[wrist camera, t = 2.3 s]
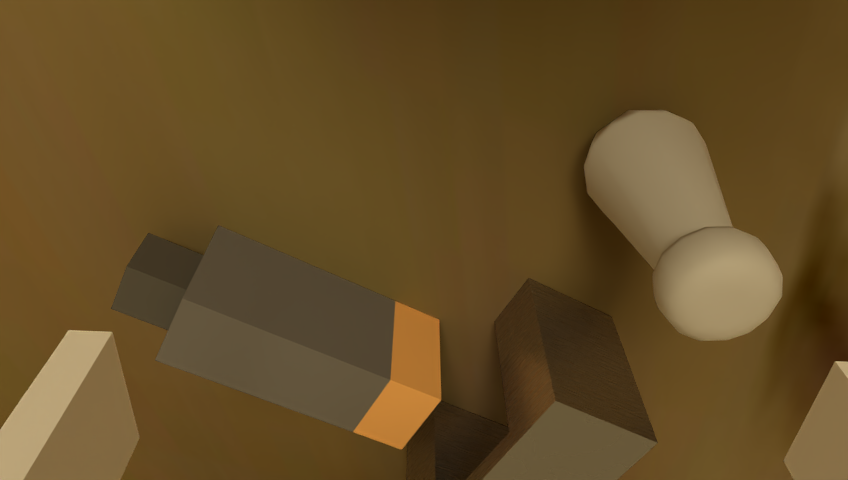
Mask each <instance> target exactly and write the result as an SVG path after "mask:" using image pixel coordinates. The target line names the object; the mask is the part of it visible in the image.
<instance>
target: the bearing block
mask: <svg viewBox="0 0 848 480" xmlns="http://www.w3.org/2000/svg"><path fill="white" fill-rule="evenodd" d="M495 330H496V337H497V345H498V352H499V360H500V367H501V375H502V382H503V390H504V397H505V405H506V412H507V420H508V427H506V426H504V425H501V424H499V423H496V422H494V421H491V420H488V419H486V418H483V417H481V416H478V415H476V414H473V413H471V412H468V411H465V410H463V409H460V408H458V407H455V406H453V405H450V404H448V403H445V402H442V401H440V402H439V403H438V405H437V406H436V407H435V408H434V410H433V411H432V412H431V413H430V415H429V416H428V417H427V418H426V420H425V421H424V422H423V423H422V425H421V426H420V427H419V428H418V430H417V431H416V432H415V433H414V435H413V436H412V437H411V438H410V440H409V441H408V442H407V473H406V480H617V479H618V478H619V477H621V476H622V475H623V474H624V473H625V472H626V471H627V470H628V469H629V468H631V467H632V466H633V465H634V464H635V463H636V462H637V461H638V460H639V459H640V458H642V457H643V456H644V455H645V454H646V453H647V452H648V451H649V450H650V449H652V448H653V447H654V446H655V445H656V444H657V443H658V442H657V440H656V437H655V434H654V431H653V429H652V426H651V423H650V420H649V418H648V415H647V412H646V409H645V407H644V404H643V401H642V398H641V396H640V393H639V390H638V387H637V385H636V382H635V379H634V376H633V374H632V371H631V368H630V366H629V363H628V360H627V357H626V355H625V352H624V349H623V346H622V344H621V341H620V338H619V335H618V333H617V330H616V327H615V324H614V322H613V319H612V317H611V316H609V315H607V314H605V313H602V312H600V311H598V310H596V309H594V308H592V307H590V306H587V305H585V304H583V303H581V302H579V301H577V300H574V299H572V298H570V297H568V296H566V295H564V294H562V293H559V292H557V291H555V290H553V289H551V288H549V287H546V286H544V285H542V284H540V283H538V282H536V281H534V280H531V279H528V280H527V281H526V282H525V284H524V285H523V286H522V287H521V289H520V290H519V291H518V293H517V294H516V295H515V296H514V298H513V299H512V300H511V301H510V303H509V304H508V305H507V306H506V308H505V309H504V310H503V312H502V313H501V314H500V315H499V317H498V318H497V319H496V320H495Z"/></svg>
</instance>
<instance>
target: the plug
mask: <svg viewBox="0 0 848 480" xmlns="http://www.w3.org/2000/svg"><path fill="white" fill-rule="evenodd" d="M111 309H113V310H116V311H118V312H121V313H124V314H126V315H129V316H132V317H134V318H137V319H140V320H142V321H145V322H148V323H150V324H153V325H156V326H158V327H161V328H164V329H166V330H168V332H167V334H166V337H165V339H164V341H163V343H162V346H161V348H160V350H159V352H158V355H157V357H156V359H155V360H156V361H158V362H161V363H164V364H167V365H169V366H172V367H175V368H178V369H180V370H183V371H186V372H189V373H191V374H194V375H197V376H200V377H203V378H205V379H208V380H211V381H214V382H216V383H219V384H222V385H225V386H227V387H230V388H233V389H236V390H238V391H241V392H244V393H247V394H249V395H252V396H255V397H258V398H260V399H263V400H266V401H269V402H271V403H274V404H277V405H280V406H282V407H285V408H288V409H291V410H293V411H296V412H299V413H302V414H304V415H307V416H310V417H313V418H316V419H318V420H321V421H324V422H327V423H329V424H332V425H335V426H338V427H340V428H343V429H346V430H349V431H351V432H354V433H357V434H360V435H362V436H365V437H368V438H371V439H373V440H376V441H379V442H382V443H384V444H387V445H390V446H393V447H395V448H398V449H401V450H402V449H403V447H404V446H405V445H406V444H407V442H408V441H409V440H410V438H411V437H412V436H413V435H414V433H415V432H416V431H417V430H418V428H419V427H420V426H421V425H422V423H423V422H424V421H425V420H426V418H427V417H428V416H429V415H430V413H431V412H432V411H433V410H434V408H435V407H436V406H437V405H438V403H439V402H440V401H441V368H440V328H439V319H436V318H434V317H432V316H429V315H427V314H425V313H422V312H420V311H418V310H415V309H413V308H411V307H408V306H406V305H403V304H401V303H399V302H396V301H394V300H392V299H389V298H387V297H385V296H382V295H380V294H378V293H375V292H373V291H371V290H368V289H366V288H364V287H361V286H359V285H357V284H354V283H352V282H350V281H347V280H345V279H343V278H340V277H338V276H336V275H333V274H331V273H329V272H326V271H324V270H322V269H319V268H317V267H315V266H312V265H310V264H308V263H305V262H303V261H301V260H298V259H296V258H294V257H291V256H289V255H287V254H284V253H282V252H280V251H277V250H275V249H272V248H270V247H268V246H265V245H263V244H261V243H258V242H256V241H254V240H251V239H249V238H247V237H244V236H242V235H240V234H237V233H235V232H233V231H230V230H228V229H226V228H223V227H221V226H219V225H218V227H217V230H216V232H215V234H214V236H213V238H212V240H211V242H210V244H209V246H208V248H207V250H206V252H205V254H204V256H203V255H201V254H199V253H196V252H194V251H191V250H189V249H186V248H184V247H182V246H179V245H177V244H174V243H172V242H169V241H167V240H165V239H162V238H160V237H157V236H155V235H153V234H150V233H148V234H147V236H146V238H145V239H144V241H143V242H142V244H141V245H140V247H139V248H138V250H137V251H136V253H135V254H134V256H133V258H132V259H131V261H130V262H129V264H128V265H127V267H126V270H125V272H124V275H123V278H122V281H121V283H120V286H119V289H118V291H117V294H116V297H115V299H114V302H113V305H112V307H111Z"/></svg>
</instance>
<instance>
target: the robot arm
mask: <svg viewBox="0 0 848 480" xmlns="http://www.w3.org/2000/svg"><path fill="white" fill-rule="evenodd" d="M139 438H140V437H139V433H138V429H137V425H136V422H135V418H134V414H133V410H132V406H131V402H130V398H129V394H128V391H127V387H126V383H125V379H124V375H123V371H122V367H121V363H120V359H119V356H118V352H117V348H116V344H115V340H114V336H113V332H102V331H78V330H69V331H68V332H67V333H66V335H65V336H64V338H63V339H62V341H61V342H60V344H59V345H58V346H57V348H56V349H55V351H54V352H53V354H52V355H51V357H50V358H49V360H48V361H47V362H46V364H45V365H44V367H43V368H42V370H41V371H40V373H39V374H38V375H37V377H36V378H35V380H34V381H33V383H32V384H31V386H30V387H29V389H28V390H27V391H26V393H25V394H24V396H23V397H22V399H21V400H20V402H19V403H18V404H17V406H16V407H15V409H14V410H13V412H12V413H11V415H10V416H9V418H8V419H7V420H6V422H5V423H4V425H3V426H2V428H1V429H0V480H120V479H121V477H122V475H123V473H124V471H125V468H126V466H127V464H128V462H129V460H130V457H131V455H132V453H133V451H134V449H135V447H136V444H137V442H138V440H139ZM784 463H785V465H786V466H787V468H788V470H789V472H790V474H791V475H792V477H793V479H794V480H848V362H838V361H835V363H834V364H833V366H832V368H831V370H830V372H829V374H828V376H827V378H826V380H825V382H824V384H823V386H822V388H821V389H820V391H819V393H818V395H817V397H816V399H815V401H814V403H813V405H812V407H811V409H810V411H809V412H808V414H807V416H806V418H805V420H804V422H803V424H802V426H801V428H800V430H799V432H798V434H797V436H796V437H795V439H794V441H793V443H792V445H791V447H790V449H789V451H788V453H787V455H786V457H785V459H784Z"/></svg>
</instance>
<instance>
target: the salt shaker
mask: <svg viewBox="0 0 848 480" xmlns="http://www.w3.org/2000/svg"><path fill="white" fill-rule="evenodd" d="M584 172H585V179H586V187H587V193H588V195H589V196H590V197H591V198H592V200H593V201H594V202H595V203H596V204H597V206H598V207H599V208H600V209H601V211H602V212H603V213H604V214H605V215H606V216H607V217H608V218H609V219H610V220H611V221H612V222H613V223H614V225H615V226H616V227H617V228H618V229H619V230H620V231H621V233H622V234H623V235H624V236H625V237H626V238H627V239H628V241H629V242H630V243H631V244H632V245H633V246H634V248H635V249H636V250H637V251H638V252H639V253H640V254H641V256H642V257H643V258H644V259H645V260H646V261H647V263H648V264H649V265H650V266H651V267H652V268H653V269H654V271H653V291H654V299H655V301H656V304H657V307H658V309H659V310H660V311H661V312H662V314H663V315H664V316H665V317H666V318H667V320H668V321H669V322H670V323H671V324H672V325H673V327H674V328H675V329H676V330H677V331H678V332H679V333H680V334H683V335H686V336H688V337H691V338H693V339H696V340H698V341H715V340H729V339H732V338H735V337H738V336H741V335H744V334H747V333H749V332H751V331H752V330H753V329H755V328H756V327H757V326H759V325H760V324H761V323H762V322H764V321H765V320H766V319H767V318H768V317H769V316H770V314H771V313H772V311H773V310H774V308H775V307H776V305H777V303H778V302H779V300H780V299H781V297H782V281H783V276H782V274H781V271H780V269H779V266H778V264H777V263H776V261H775V259H774V258H773V256H772V255H771V253H770V252H769V250H768V249H767V247H766V246H765V245H764V244H763V243H762V242H761V241H760V240H759V239H758V238H757V237H755V236H753V235H750V234H748V233H745V232H743V231H740V230H738V229H736V228H733V226H732V223H731V220H730V217H729V214H728V211H727V208H726V205H725V202H724V198H723V195H722V192H721V189H720V186H719V183H718V180H717V177H716V174H715V171H714V167H713V164H712V161H711V158H710V155H709V152H708V149H707V146H706V143H705V141H704V140H703V138H702V137H701V135H700V133H699V132H698V130H697V129H696V127H695V126H694V124H693V123H692V122H690V121H688V120H686V119H684V118H682V117H680V116H677V115H675V114H673V113H670V112H668V111H666V110H628V111H626V112H625V113H623V114H622V115H621V116H619V117H618V118H616V119H615V120H613V121H612V122H611V123H609V124H608V125H606V126H605V127H603V128H602V129H601V130H599V131H598V132H597V133H596V135H595V137H594V139H593V141H592V143H591V146H590V149H589V152H588V155H587V158H586V160H585V163H584Z"/></svg>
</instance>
